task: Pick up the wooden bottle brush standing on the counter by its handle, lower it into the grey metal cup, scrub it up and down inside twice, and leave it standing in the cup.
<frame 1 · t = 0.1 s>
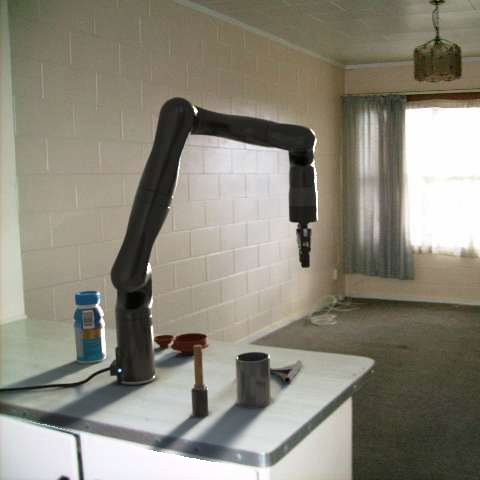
hand: (304, 264, 169), 29 cm above the counter, tool pointing down, fingers open, 8 cm apart
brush: (200, 414, 144), on the counter
bracket: (270, 374, 171), on the counter
grey metal cup: (254, 401, 151), on the counter
beverage bottle: (91, 360, 186), on the counter
pottery: (180, 350, 194), on the counter
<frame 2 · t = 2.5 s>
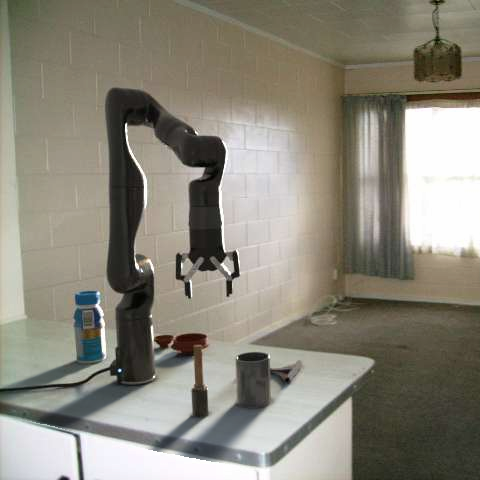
hand: (209, 297, 144), 26 cm above the counter, tool pointing down, fingers open, 8 cm apart
nothing on the counter moved.
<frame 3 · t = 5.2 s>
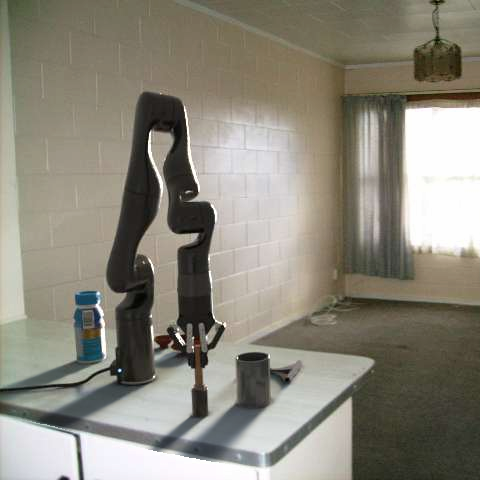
hand: (198, 367, 143), 11 cm above the counter, tool pointing down, fingers closed on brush, 2 cm apart
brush: (200, 414, 144), on the counter, touching gripper
everything else where it was.
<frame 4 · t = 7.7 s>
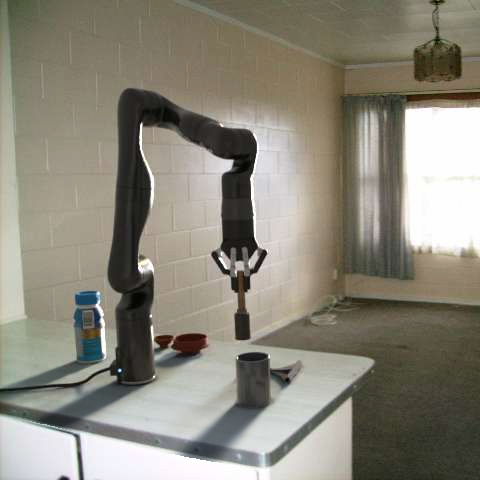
hand: (241, 291, 146), 27 cm above the counter, tool pointing down, fingers closed on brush
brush: (243, 338, 148), point 16 cm above the counter, touching gripper
everything else where it was.
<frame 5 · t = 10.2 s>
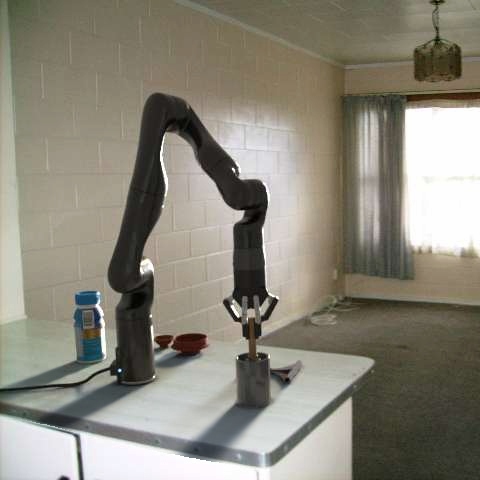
hand: (252, 338, 149), 15 cm above the counter, tool pointing down, fingers closed on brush
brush: (253, 383, 150), point 4 cm above the counter, touching gripper
everything else where it was.
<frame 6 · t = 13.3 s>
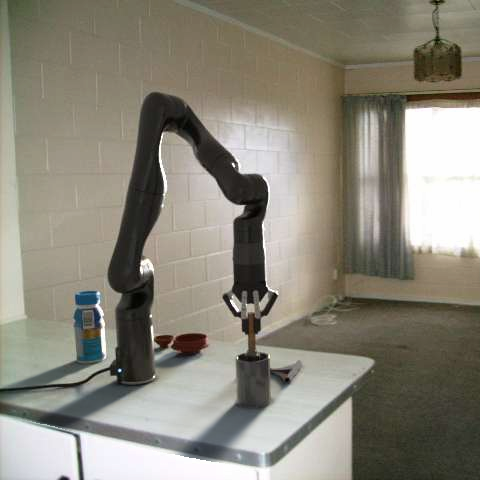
hand: (251, 333, 149), 17 cm above the counter, tool pointing down, fingers closed on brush
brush: (252, 379, 150), point 6 cm above the counter, touching gripper
everything else where it was.
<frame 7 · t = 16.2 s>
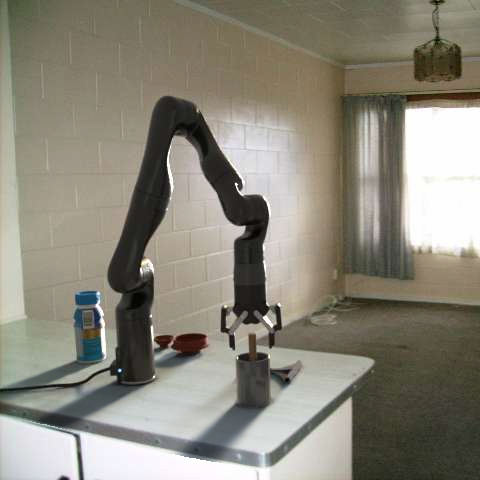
hand: (252, 348, 149), 13 cm above the counter, tool pointing down, fingers open, 8 cm apart
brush: (254, 399, 151), point 1 cm above the counter, touching grey metal cup
everything else where it was.
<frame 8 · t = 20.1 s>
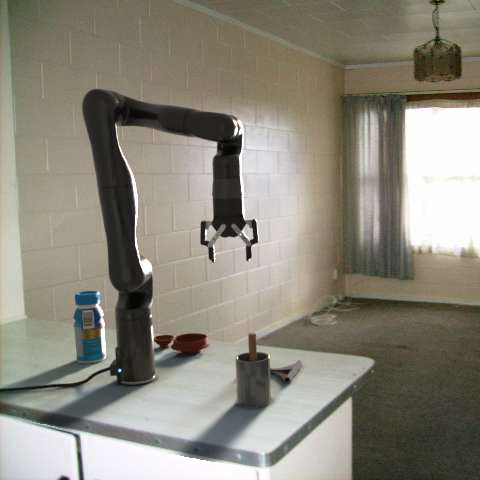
hand: (230, 261, 158), 32 cm above the counter, tool pointing down, fingers open, 8 cm apart
nothing on the counter moved.
at the end: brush 0.1 cm off-centre in the grey metal cup, point 0.6 cm above the grey metal cup's base; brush tilted 0°; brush moved 13.5 cm from its start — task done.
